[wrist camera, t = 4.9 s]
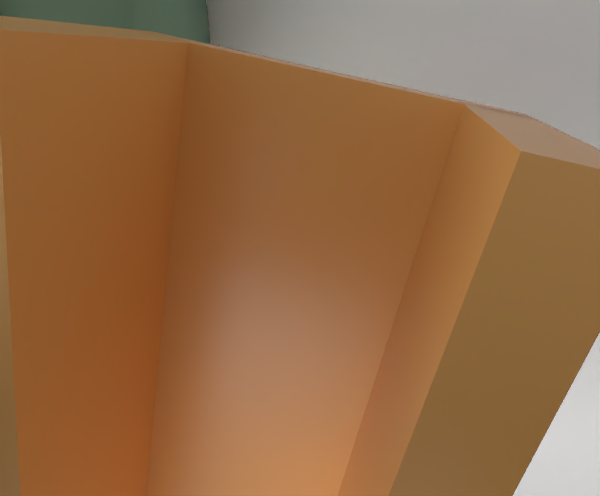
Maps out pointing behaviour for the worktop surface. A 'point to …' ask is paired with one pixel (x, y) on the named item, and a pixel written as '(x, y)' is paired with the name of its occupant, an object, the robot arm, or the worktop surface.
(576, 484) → the worktop surface
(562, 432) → the worktop surface
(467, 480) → the chute
